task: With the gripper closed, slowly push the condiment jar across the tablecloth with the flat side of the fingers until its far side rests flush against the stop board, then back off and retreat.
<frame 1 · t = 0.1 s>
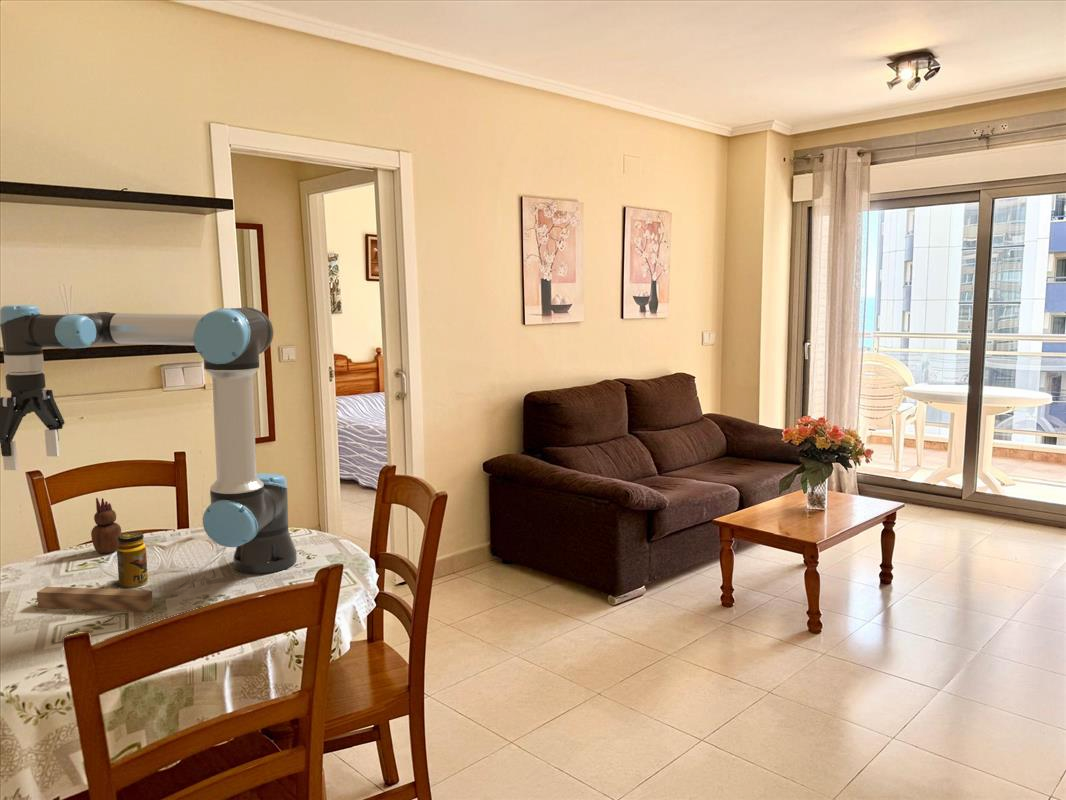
hand: (32, 462, 176), 28 cm above the table, fingers open, 13 cm apart
board: (95, 606, 164), on the table
wooden figurine: (107, 552, 197), on the table
condiment: (129, 585, 176), on the table
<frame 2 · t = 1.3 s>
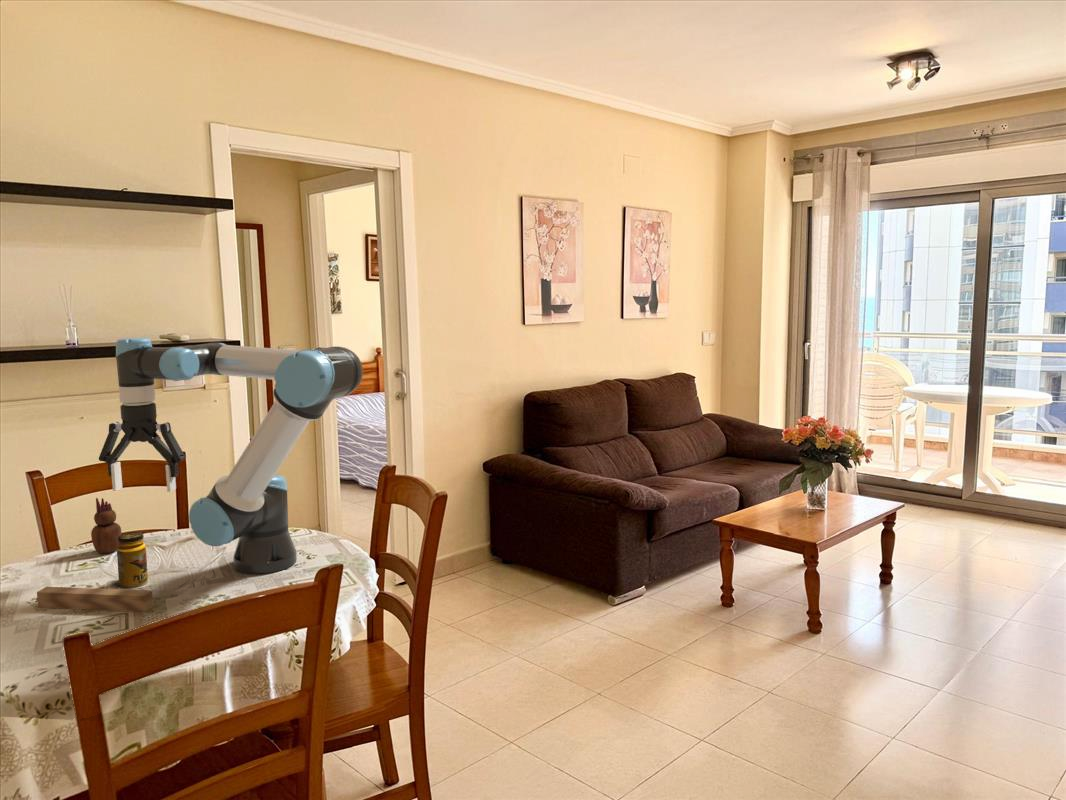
hand: (144, 489, 182), 20 cm above the table, fingers open, 13 cm apart
nothing on the table moved.
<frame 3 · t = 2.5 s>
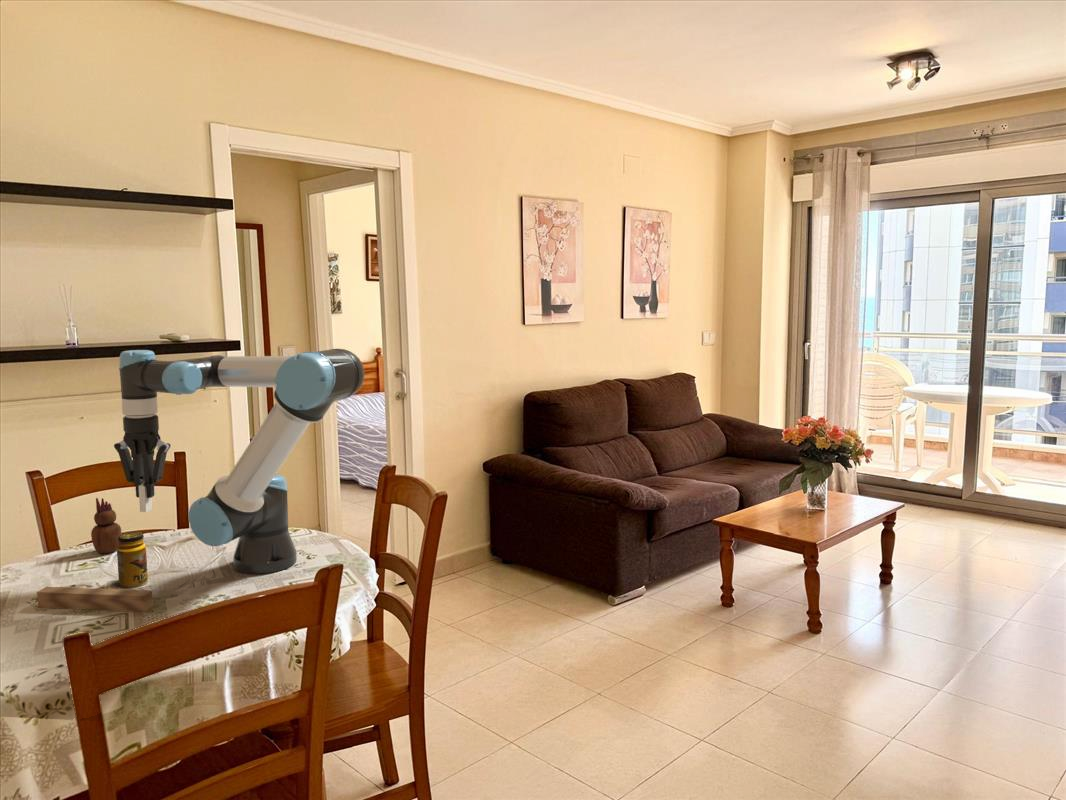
hand: (146, 510, 183), 15 cm above the table, fingers closed
nothing on the table moved.
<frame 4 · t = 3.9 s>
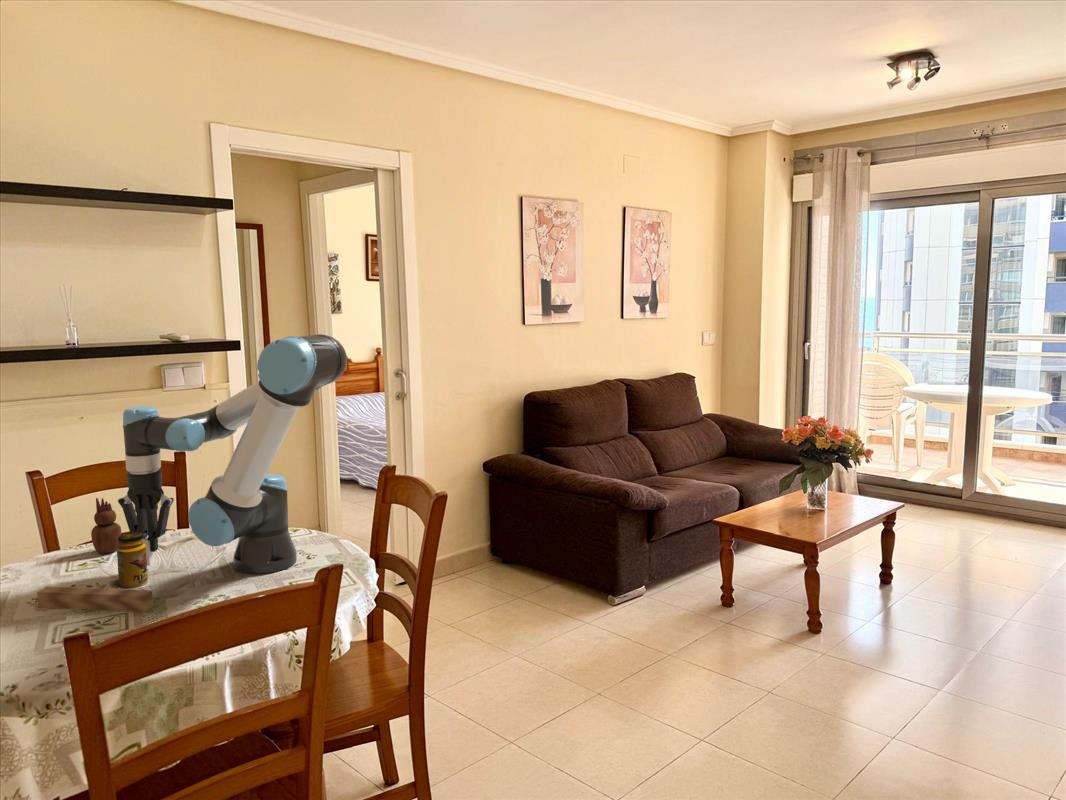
hand: (150, 563, 185), 2 cm above the table, fingers closed
nothing on the table moved.
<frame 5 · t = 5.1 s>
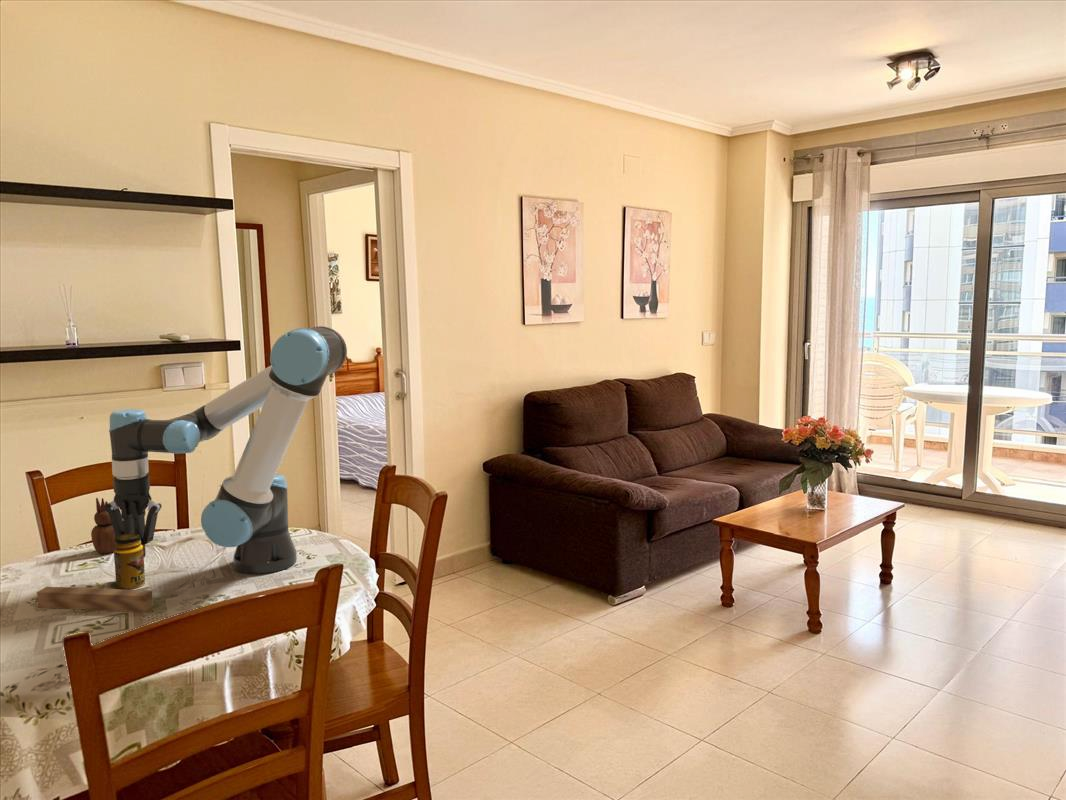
hand: (137, 570, 180), 2 cm above the table, fingers closed
condiment: (126, 586, 175), on the table, touching gripper
everything else where it was.
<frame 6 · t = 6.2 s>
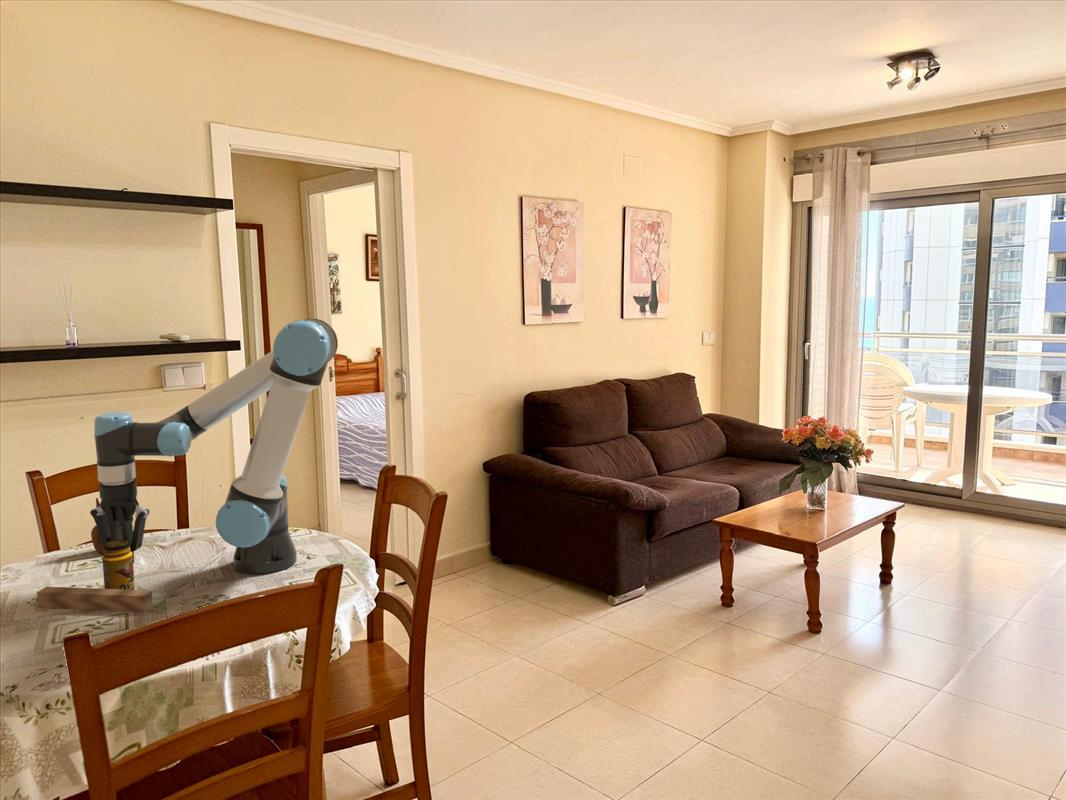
hand: (125, 577, 175), 2 cm above the table, fingers closed
condiment: (115, 594, 170), on the table, touching board, gripper
everything else where it was.
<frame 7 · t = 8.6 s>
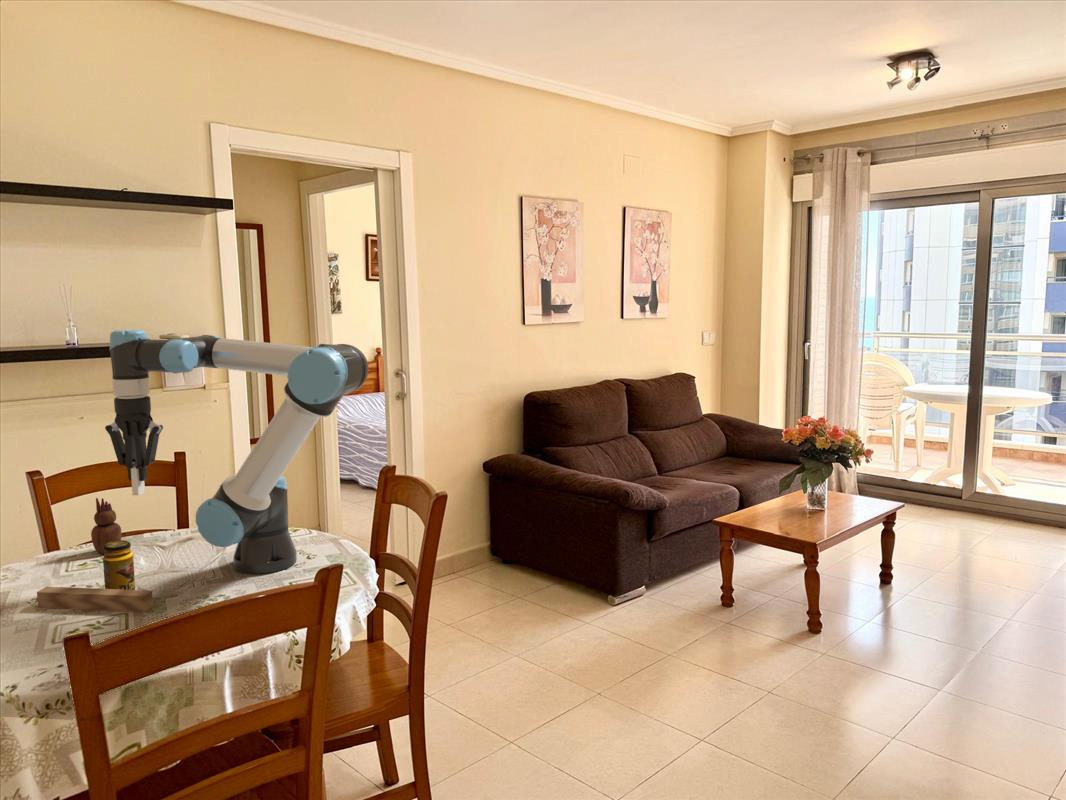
hand: (138, 493, 179), 20 cm above the table, fingers closed
condiment: (116, 595, 170), on the table
everything else where it was.
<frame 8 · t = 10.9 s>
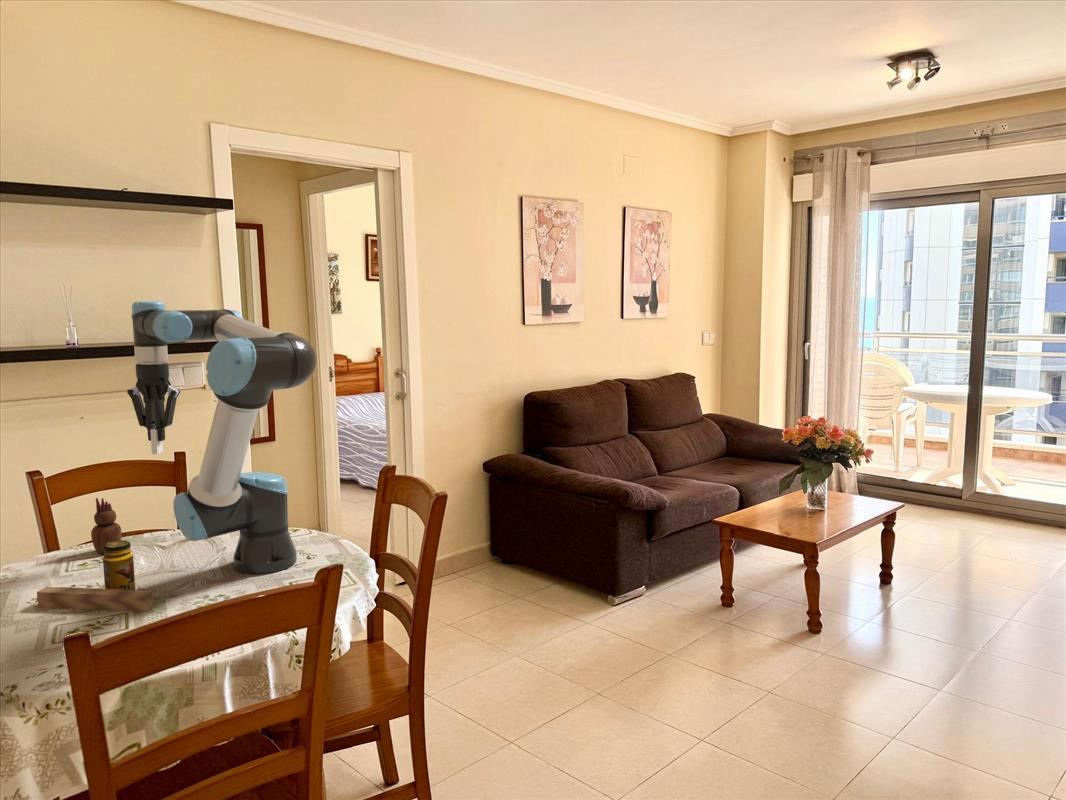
hand: (157, 453, 194), 26 cm above the table, fingers closed
nothing on the table moved.
at the end: condiment inside the target area on the table beside the board (1.1 cm from its centre), on the table; condiment tilted 0° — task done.
